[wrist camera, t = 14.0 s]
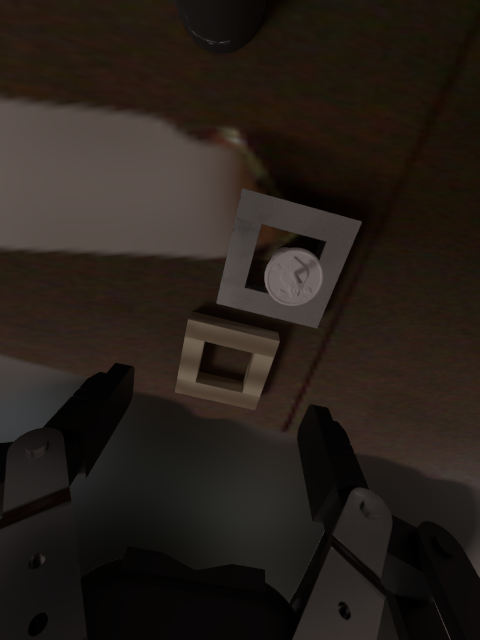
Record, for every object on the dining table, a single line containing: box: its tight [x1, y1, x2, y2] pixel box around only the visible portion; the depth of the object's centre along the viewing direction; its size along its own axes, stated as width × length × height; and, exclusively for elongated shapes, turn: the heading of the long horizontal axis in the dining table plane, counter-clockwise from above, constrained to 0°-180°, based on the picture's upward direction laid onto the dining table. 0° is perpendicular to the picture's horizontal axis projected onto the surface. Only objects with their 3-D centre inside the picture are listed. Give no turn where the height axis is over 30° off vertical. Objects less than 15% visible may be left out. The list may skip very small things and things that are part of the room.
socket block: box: [175, 311, 280, 410], centre depth 43 cm, size 14×14×3 cm
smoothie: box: [264, 247, 324, 306], centre depth 30 cm, size 6×6×14 cm
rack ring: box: [217, 189, 362, 328], centre depth 35 cm, size 15×15×3 cm
